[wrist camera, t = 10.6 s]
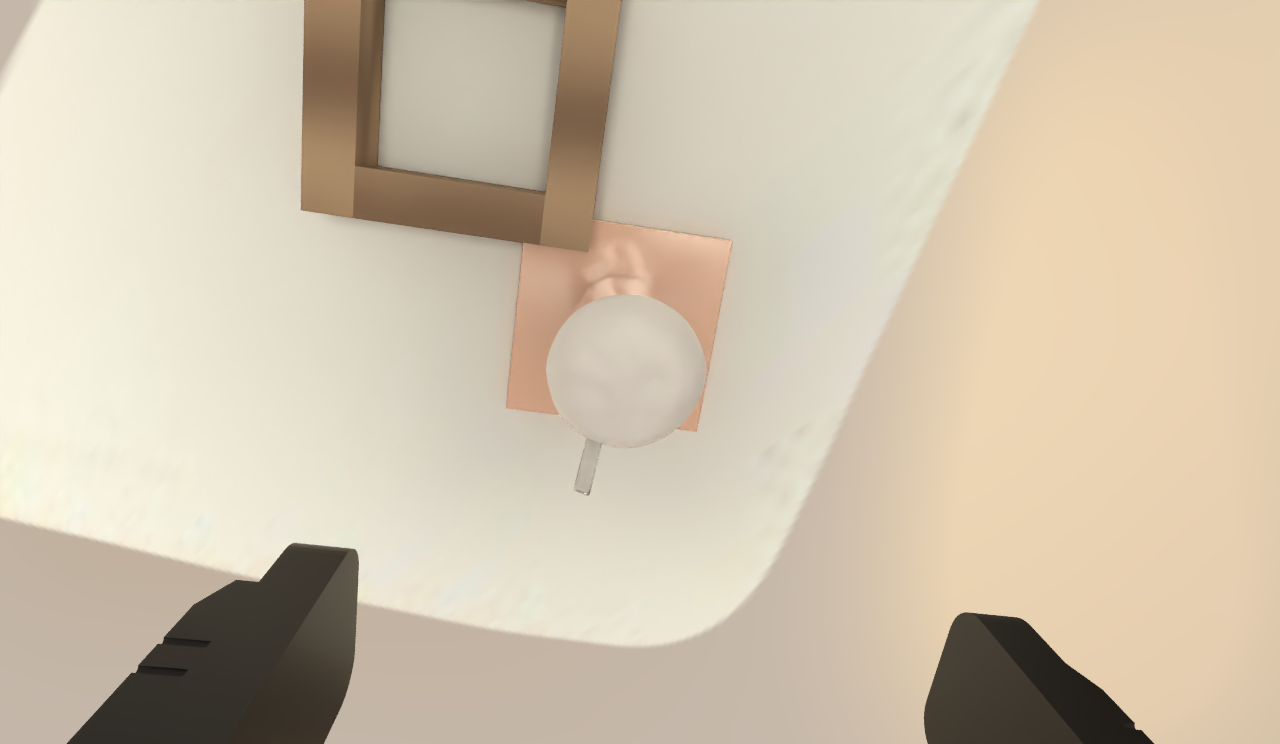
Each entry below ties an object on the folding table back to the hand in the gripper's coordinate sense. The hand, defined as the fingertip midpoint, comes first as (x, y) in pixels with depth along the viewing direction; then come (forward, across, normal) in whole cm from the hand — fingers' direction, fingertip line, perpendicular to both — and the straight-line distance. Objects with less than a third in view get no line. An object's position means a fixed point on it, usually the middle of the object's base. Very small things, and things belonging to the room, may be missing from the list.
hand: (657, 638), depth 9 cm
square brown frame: (+20, +6, -8) cm, 22 cm away
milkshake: (+20, 0, 0) cm, 20 cm away
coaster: (+20, 0, 0) cm, 20 cm away
